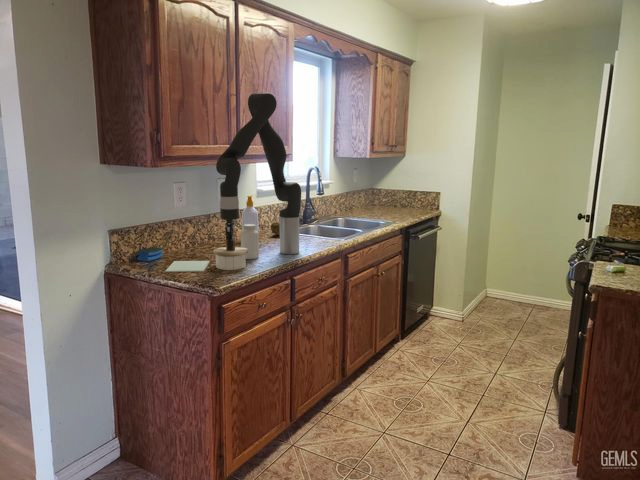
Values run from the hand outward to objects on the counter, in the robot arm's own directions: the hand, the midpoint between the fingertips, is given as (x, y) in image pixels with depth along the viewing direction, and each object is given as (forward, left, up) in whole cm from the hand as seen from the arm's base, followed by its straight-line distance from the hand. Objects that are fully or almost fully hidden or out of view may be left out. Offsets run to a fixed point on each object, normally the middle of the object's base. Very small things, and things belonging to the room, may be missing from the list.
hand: (230, 248), depth 202 cm
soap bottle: (-57, +5, -8) cm, 58 cm away
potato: (-71, +20, -8) cm, 74 cm away
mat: (0, -18, -8) cm, 19 cm away
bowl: (0, 0, -8) cm, 8 cm away
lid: (0, 0, -2) cm, 2 cm away
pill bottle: (-16, +7, -8) cm, 19 cm away
